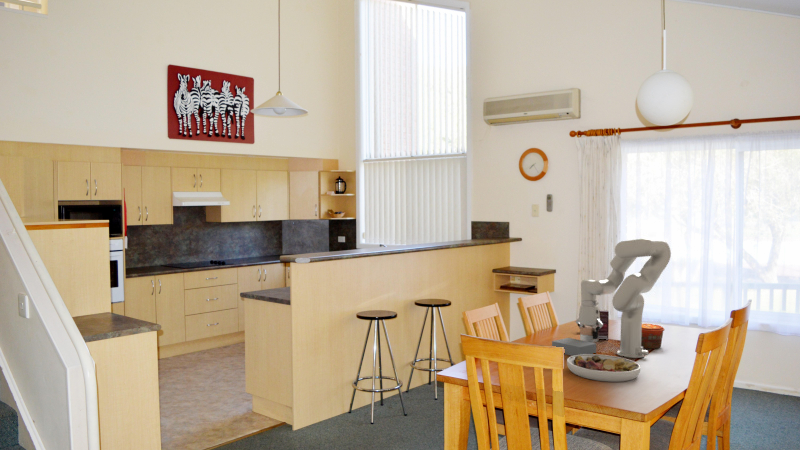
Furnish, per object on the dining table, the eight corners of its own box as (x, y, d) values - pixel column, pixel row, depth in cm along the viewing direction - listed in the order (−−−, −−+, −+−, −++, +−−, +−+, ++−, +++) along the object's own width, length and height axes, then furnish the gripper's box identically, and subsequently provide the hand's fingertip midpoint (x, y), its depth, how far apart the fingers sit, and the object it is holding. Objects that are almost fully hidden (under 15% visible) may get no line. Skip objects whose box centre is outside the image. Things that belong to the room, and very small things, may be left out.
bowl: (582, 361, 272) (582, 344, 272) (649, 373, 253) (649, 355, 253) (555, 374, 249) (555, 356, 248) (626, 388, 230) (627, 369, 229)
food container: (624, 344, 308) (624, 324, 308) (645, 341, 315) (645, 322, 315) (649, 351, 294) (650, 330, 294) (670, 348, 301) (671, 327, 301)
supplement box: (606, 338, 323) (606, 309, 323) (608, 340, 318) (609, 311, 318) (590, 337, 324) (591, 309, 323) (592, 339, 319) (593, 310, 319)
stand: (596, 353, 287) (596, 343, 287) (579, 357, 278) (579, 347, 278) (568, 347, 299) (568, 337, 299) (551, 351, 290) (552, 341, 290)
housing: (598, 341, 302) (598, 327, 302) (591, 342, 297) (591, 329, 298) (587, 339, 307) (587, 326, 307) (580, 340, 302) (580, 327, 303)
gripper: (607, 304, 298) (608, 339, 298) (578, 301, 311) (578, 334, 311) (599, 305, 293) (600, 341, 293) (570, 302, 307) (570, 336, 306)
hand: (589, 337), depth 302 cm, fingers closed on housing, 6 cm apart
